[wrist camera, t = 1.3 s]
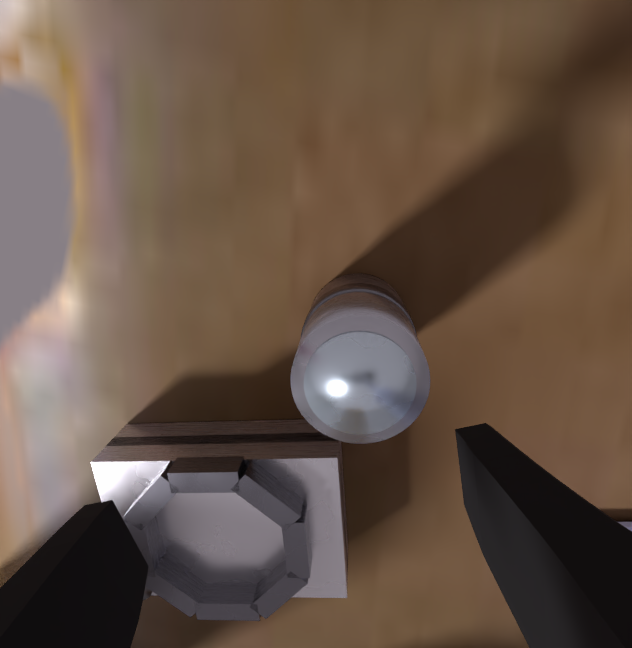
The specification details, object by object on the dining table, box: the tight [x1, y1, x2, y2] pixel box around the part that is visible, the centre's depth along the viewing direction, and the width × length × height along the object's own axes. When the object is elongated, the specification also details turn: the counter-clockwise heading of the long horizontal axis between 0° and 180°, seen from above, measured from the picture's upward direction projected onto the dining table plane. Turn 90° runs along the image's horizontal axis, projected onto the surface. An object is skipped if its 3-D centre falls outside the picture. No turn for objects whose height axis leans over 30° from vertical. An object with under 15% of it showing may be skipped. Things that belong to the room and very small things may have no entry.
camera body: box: [91, 419, 348, 621], centre depth 20 cm, size 10×7×4 cm
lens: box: [290, 274, 430, 444], centre depth 16 cm, size 4×4×6 cm
